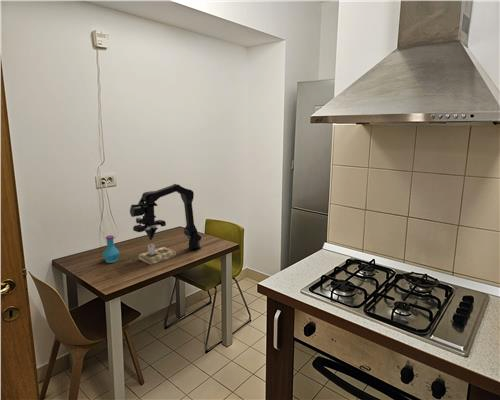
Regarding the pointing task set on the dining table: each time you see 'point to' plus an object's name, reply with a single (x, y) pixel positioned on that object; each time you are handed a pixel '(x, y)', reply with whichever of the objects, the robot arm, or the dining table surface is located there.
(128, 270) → the dining table surface
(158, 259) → the frame
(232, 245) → the dining table surface
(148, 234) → the robot arm
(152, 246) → the grey cylinder
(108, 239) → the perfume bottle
